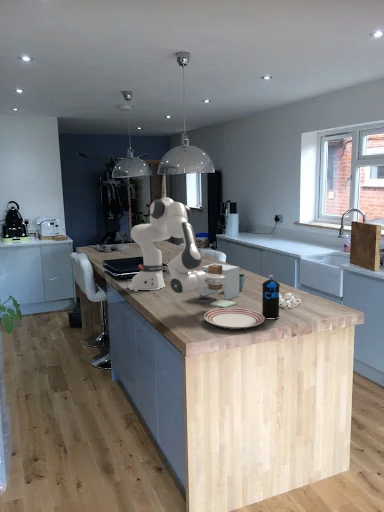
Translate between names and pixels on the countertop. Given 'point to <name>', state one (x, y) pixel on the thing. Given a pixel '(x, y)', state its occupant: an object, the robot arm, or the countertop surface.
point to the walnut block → (215, 270)
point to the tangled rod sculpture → (288, 296)
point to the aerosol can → (270, 298)
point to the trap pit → (204, 299)
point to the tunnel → (231, 281)
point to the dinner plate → (234, 318)
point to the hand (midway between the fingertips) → (216, 274)
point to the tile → (223, 303)
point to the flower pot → (241, 281)
